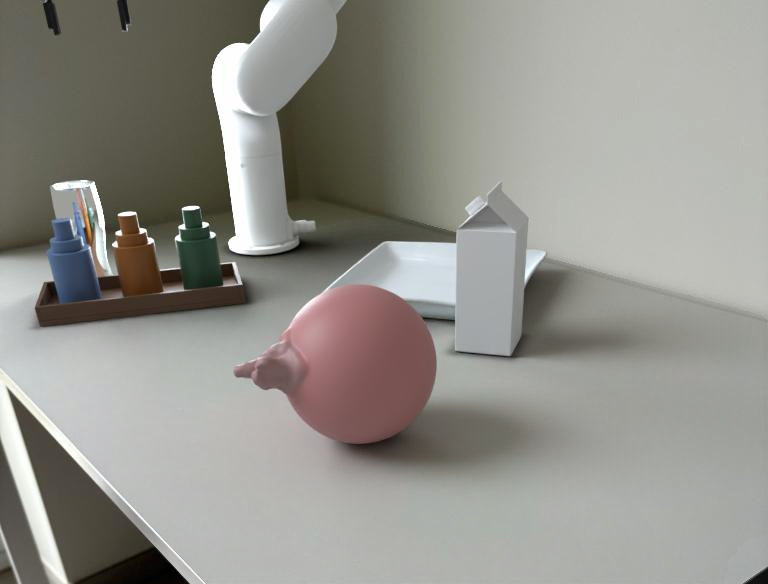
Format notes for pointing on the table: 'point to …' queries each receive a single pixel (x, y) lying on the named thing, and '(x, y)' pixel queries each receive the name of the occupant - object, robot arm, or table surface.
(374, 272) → the square plate
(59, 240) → the blue bottle
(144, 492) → the table surface
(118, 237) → the amber bottle
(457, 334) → the milk carton
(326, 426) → the balloon
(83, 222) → the beer glass
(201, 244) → the green bottle
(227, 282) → the tray
